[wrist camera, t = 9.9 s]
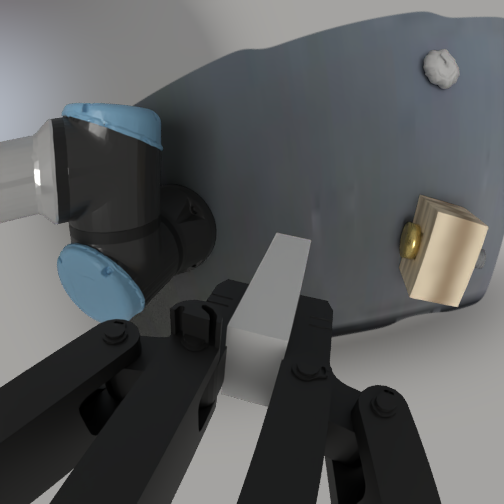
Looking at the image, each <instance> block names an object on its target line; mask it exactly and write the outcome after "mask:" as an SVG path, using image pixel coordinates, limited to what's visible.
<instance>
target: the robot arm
mask: <svg viewBox="0 0 504 504" xmlns="http://www.w3.org/2000/svg"><path fill="white" fill-rule="evenodd" d="M62 116H63V117H62V118H55V119H49V120H47V121H46V122H45V124H44V125H43V126H42V127H41V128H40V130H39V131H38V132H37V133H35V134H34V135H33V136H28V137H23V138H18V139H13V140H8V141H3V142H0V223H3V222H7V221H11V220H15V219H19V218H23V217H27V216H32V215H36V214H40V215H43V216H45V217H46V218H47V219H48V220H50V221H51V222H52V223H54V224H60V223H65V222H69V228H70V236H71V244H68V245H67V246H65V247H64V249H63V251H61V253H60V256H59V258H58V261H57V268H58V274H59V278H60V280H61V283H62V285H63V287H64V289H65V291H66V292H67V294H68V295H69V297H70V298H71V300H72V301H73V302H74V303H75V304H76V305H77V306H78V307H79V308H80V309H81V310H82V311H83V312H84V313H85V314H87V315H88V316H90V317H91V318H93V319H95V320H97V321H99V322H101V323H100V324H98V325H97V326H95V327H94V328H92V329H91V330H89V331H87V332H86V333H84V334H83V335H81V336H79V337H78V338H76V339H75V340H73V341H71V342H70V343H68V344H67V345H65V346H64V347H62V348H60V349H59V350H57V351H56V352H54V353H53V354H51V355H50V356H48V357H46V358H45V359H44V360H42V361H41V362H39V363H37V364H36V365H34V366H33V367H31V368H30V369H28V370H26V371H25V372H23V373H22V374H20V375H19V376H17V377H16V378H14V379H13V380H11V381H10V382H8V383H7V384H5V385H4V386H2V387H0V504H30V503H31V502H33V501H34V500H35V499H36V498H38V497H39V496H40V495H42V494H43V493H44V492H45V491H47V490H48V489H49V488H50V487H52V486H53V485H54V484H55V483H56V482H58V481H59V480H60V479H61V478H63V477H64V476H65V475H66V474H68V473H69V472H70V471H71V470H72V469H73V471H72V472H71V473H70V475H69V476H68V478H67V479H66V481H65V482H64V483H63V485H62V486H61V488H60V489H59V491H58V492H57V494H56V495H55V496H54V498H53V499H52V501H51V502H50V504H171V502H172V500H173V498H174V496H175V494H176V491H177V490H178V487H179V485H180V483H181V481H182V479H183V477H184V475H185V473H186V471H187V468H188V466H189V464H190V462H191V460H192V458H193V456H194V454H195V451H196V449H197V447H198V445H199V443H200V441H201V439H202V436H203V434H204V432H205V430H206V428H207V425H208V423H209V421H210V419H211V417H212V414H213V412H214V410H215V407H216V401H217V395H218V393H219V390H220V389H221V386H222V391H221V394H224V395H227V396H231V397H234V398H237V399H241V400H244V401H248V402H252V403H256V404H260V405H264V406H268V409H267V413H266V416H265V419H264V423H263V426H262V429H261V433H260V436H259V439H258V442H257V445H256V448H255V451H254V454H253V457H252V460H251V463H250V467H249V470H248V472H247V475H246V478H245V481H244V484H243V487H242V490H241V493H240V496H239V499H238V502H237V504H316V501H317V496H318V490H319V484H320V478H321V472H322V466H323V459H324V456H325V461H326V467H327V476H328V483H329V491H330V498H331V504H441V501H440V497H439V494H438V491H437V487H436V484H435V481H434V478H433V475H432V472H431V468H430V465H429V462H428V459H427V457H426V453H425V450H424V448H423V445H422V442H421V439H420V437H419V434H418V431H417V428H416V425H415V423H414V420H413V417H412V415H411V412H410V410H409V407H408V404H407V402H406V401H405V399H404V398H403V396H402V395H401V394H400V393H398V392H397V391H396V390H394V389H392V388H390V387H387V386H381V385H375V386H371V387H368V388H366V389H365V390H364V391H362V392H360V391H358V390H356V389H353V388H351V387H349V386H347V385H346V384H344V383H342V382H341V381H340V380H339V379H337V378H336V376H335V375H334V374H333V372H332V368H331V367H330V351H331V337H332V321H333V310H332V308H331V306H330V304H329V303H328V301H325V300H320V299H316V298H311V297H307V296H302V295H300V290H301V286H302V281H303V277H304V272H305V268H306V263H307V258H308V254H309V249H310V244H311V240H309V239H304V238H299V237H295V236H290V235H285V234H280V233H276V235H275V237H274V239H273V241H272V243H271V245H270V246H269V248H268V250H267V252H266V254H265V256H264V258H263V260H262V262H261V264H260V265H259V267H258V269H257V271H256V273H255V275H254V277H253V279H252V281H251V282H250V284H246V283H242V282H238V281H234V280H229V279H228V280H226V281H224V282H222V283H220V284H218V285H217V286H216V288H215V289H214V291H213V292H212V294H211V295H210V296H209V298H208V299H207V302H205V301H199V300H188V301H183V302H180V303H177V304H175V305H174V306H173V307H171V308H170V319H171V335H170V336H169V337H148V336H140V333H139V330H138V328H137V327H136V326H135V325H134V324H133V323H132V322H129V320H130V319H131V318H132V317H133V316H134V315H136V314H137V313H139V312H141V311H142V310H143V309H144V307H145V306H146V305H147V304H148V303H149V302H150V300H151V299H152V298H153V297H154V296H155V295H156V294H157V293H158V292H159V291H160V290H161V289H162V288H163V287H164V286H165V285H166V284H167V283H168V282H169V280H170V279H171V278H172V277H173V276H174V275H177V274H181V273H184V272H187V271H190V270H193V269H195V268H196V267H198V266H199V265H200V264H201V263H202V262H203V261H204V260H205V259H206V258H207V257H208V256H209V255H210V253H211V251H212V249H213V247H214V244H215V239H216V226H215V221H214V218H213V215H212V213H211V211H210V209H209V207H208V206H207V204H206V203H205V202H204V200H203V199H202V198H201V197H200V196H199V195H198V194H196V193H195V192H194V191H192V190H190V189H188V188H186V187H184V186H180V185H174V184H169V185H163V186H160V180H161V151H163V147H162V145H161V121H160V118H159V116H158V115H157V114H156V113H155V112H154V111H152V110H150V109H146V108H141V107H135V106H128V105H119V104H105V103H93V104H90V103H85V104H84V103H74V104H73V103H72V104H68V105H66V106H65V108H64V110H63V112H62Z"/></svg>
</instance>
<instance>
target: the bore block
mask: <svg viewBox="0 0 504 504" xmlns="http://www.w3.org/2000/svg"><path fill="white" fill-rule="evenodd" d="M413 223H415V224H419V225H420V227H421V233H423V237H422V240H421V243H420V247H419V250H418V253H417V255H416V256H415V258H414V259H412V260H411V259H406V258H402V260H401V263H400V266H399V269H400V272H401V274H402V277H403V280H404V283H405V286H406V288H407V291H408V294H409V297H410V298H415V299H420V300H425V301H430V302H435V303H440V304H445V305H450V306H455V307H458V305H459V303H460V300H461V298H462V296H463V294H464V291H465V289H466V287H467V284H468V282H469V279H470V277H471V275H472V272H473V269H474V267H475V264H476V262H477V259H478V256H479V253H480V251H481V248H482V245H483V242H484V239H485V236H486V233H487V230H488V226H487V225H485V224H484V223H483V222H482V221H481V220H479V219H478V218H477V217H475V216H474V215H473V214H472V213H470V212H469V211H468V210H466V209H465V208H463V207H460V206H457V205H454V204H450V203H447V202H444V201H440V200H437V199H433V198H430V197H426V196H423V195H420V196H419V200H418V204H417V208H416V212H415V216H414V219H413Z"/></svg>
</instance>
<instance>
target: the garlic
mask: <svg viewBox="0 0 504 504" xmlns="http://www.w3.org/2000/svg"><path fill="white" fill-rule="evenodd" d="M423 68H424V70H425V72H426V73H425V75H426V76H427V77H428V79H429V81H430V82H431V83H432V84H436V85H438V86H439V87H440V88H442V89H448V88H450V87H451V86H452V85H453V84H455V83H456V81H457V78H458V77H459V74H460V71H459V67H458V65H457V64H456V61H455V59H454V58H453V57H452V56H451V55H450V54H449V52H448V51H447V50H446V49H442V50H439V51H436V50H432V51H430V52H429V54H428V55H426V56H425V58H424V66H423Z"/></svg>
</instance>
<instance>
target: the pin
mask: <svg viewBox="0 0 504 504" xmlns="http://www.w3.org/2000/svg"><path fill="white" fill-rule="evenodd" d="M422 237H423V233H421V227H420V225H419V224H415V223H411V222H407V223H406V225H405V227H404V229H403V232H402V235H401V240H400V249H399V251H400V256H401V257H402V258H406V259H411V260H412V259H414V258H415V256H416V255H417V253H418V250H419V247H420V243H421V240H422ZM485 260H486V252H485V250H484V249H481V251H480V253H479V256H478V259H477V262H476V264H475V267H474V268H478V269H481V268H482V267H483V266H484V264H485Z"/></svg>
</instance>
